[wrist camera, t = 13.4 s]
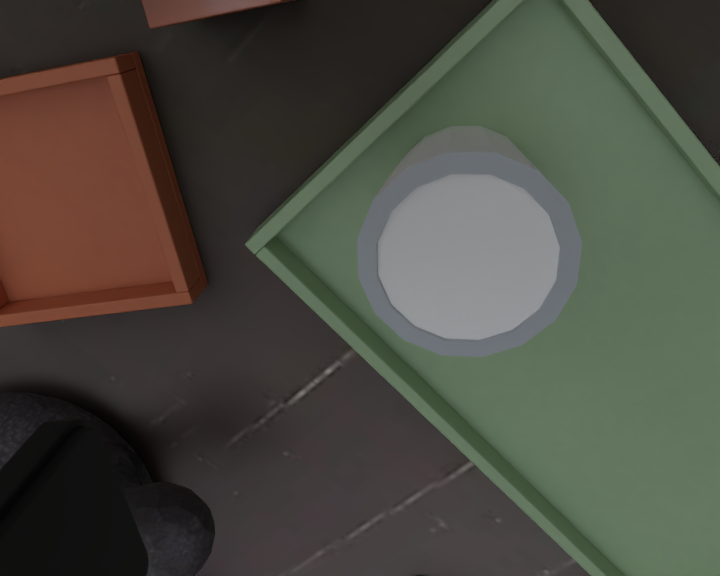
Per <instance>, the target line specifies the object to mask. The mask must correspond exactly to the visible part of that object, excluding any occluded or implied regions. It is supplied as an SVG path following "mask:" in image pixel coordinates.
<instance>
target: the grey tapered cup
mask: <svg viewBox="0 0 720 576" xmlns="http://www.w3.org/2000/svg"><path fill="white" fill-rule="evenodd" d="M581 251H582V241H581V238H580V235H579V231H578V228H577V225H576V222H575V219H574V216H573V213H572V210H571V207H570V204H569V202H568V201H567V200H566V199H565V198H564V197H563V196H562V195H561V194H560V193H559V192H558V191H557V190H556V188H555V187H554V186H553V185H552V184H551V183H550V182H549V181H548V180H547V179H546V178H545V177H544V176H543V175H542V174H541V172H540V171H539V170H538V169H537V168H536V167H535V166H534V165H533V164H532V163H531V162H530V161H529V160H528V159H527V158H526V156H525V155H524V154H523V153H522V152H521V151H520V150H519V149H518V148H517V147H516V146H515V145H514V144H513V143H512V142H511V141H510V139H509V138H508V137H506V136H504V135H502V134H499V133H497V132H495V131H492V130H490V129H488V128H485V127H483V126H481V125H451V126H449V127H446V128H444V129H441V130H439V131H436V132H434V133H431V134H429V135H426V136H424V137H423V138H422V139H421V140H420V141H419V142H418V143H417V144H416V145H415V146H414V147H413V148H412V149H411V150H410V151H409V152H408V153H407V154H406V155H405V156H404V157H403V159H402V160H401V161H400V163H399V164H398V166H397V167H396V168H395V170H394V171H393V173H392V174H391V175H390V177H389V178H388V180H387V181H386V182H385V184H384V185H383V187H382V188H381V189H380V191H379V192H378V194H377V195H376V196H375V198H374V199H373V201H372V204H371V206H370V209H369V211H368V213H367V216H366V218H365V221H364V223H363V225H362V228H361V230H360V232H359V235H358V237H357V253H358V279H359V281H360V283H361V285H362V287H363V289H364V292H365V294H366V296H367V298H368V300H369V302H370V304H371V307H372V309H373V311H374V313H375V314H376V315H377V316H378V317H379V318H380V319H381V320H382V321H384V322H385V323H386V324H387V325H388V326H389V327H390V328H391V329H392V330H393V331H394V332H395V333H397V334H398V335H399V336H400V337H401V338H402V339H403V340H405V341H407V342H410V343H412V344H415V345H417V346H420V347H422V348H424V349H427V350H429V351H432V352H434V353H437V354H439V355H446V356H469V357H485V356H488V355H491V354H494V353H498V352H501V351H504V350H508V349H511V348H514V347H518V346H521V345H523V344H525V343H526V342H527V341H529V340H530V339H531V338H532V337H534V336H535V335H536V334H538V333H539V332H540V331H542V330H543V329H544V328H546V327H547V326H548V325H550V324H551V323H552V322H554V321H555V320H556V319H557V317H558V315H559V314H560V312H561V311H562V309H563V307H564V306H565V304H566V302H567V301H568V299H569V297H570V296H571V294H572V292H573V291H574V289H575V287H576V286H577V282H578V274H579V266H580V259H581Z"/></svg>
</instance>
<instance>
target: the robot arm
mask: <svg viewBox="0 0 720 576" xmlns="http://www.w3.org/2000/svg"><path fill="white" fill-rule="evenodd" d="M148 566H149V559H148V553H147V550H146V548H145V545H144V543H143V540H142V538H141V535H140V533H139V530H138V528H137V525H136V523H135V520H134V518H133V515H132V513H131V510H130V508H129V505H128V503H127V500H126V498H125V495H124V493H123V490H122V488H121V485H120V483H119V480H118V478H117V475H116V472H115V470H114V467H113V465H112V462H111V460H110V457H109V455H108V452H107V450H106V447H105V445H104V442H103V440H102V437H101V435H100V433H99V431H98V430H97V429H95V428H93V427H90V425H89V424H88V423H87V422H86V421H85V420H82V419H71V420H58V421H48V422H44V423H43V424H41V425H40V426H39V427H38V428H37V429H36V430H35V431H34V433H33V434H32V435H31V436H30V437H29V438H28V439H27V440H26V442H25V443H24V444H23V445H22V446H21V447H20V448H19V449H18V450H17V452H16V453H15V454H14V455H13V456H12V457H11V458H10V459H9V461H8V462H7V463H6V464H5V465H4V466H3V467H2V468H1V470H0V576H147V572H148Z"/></svg>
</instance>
